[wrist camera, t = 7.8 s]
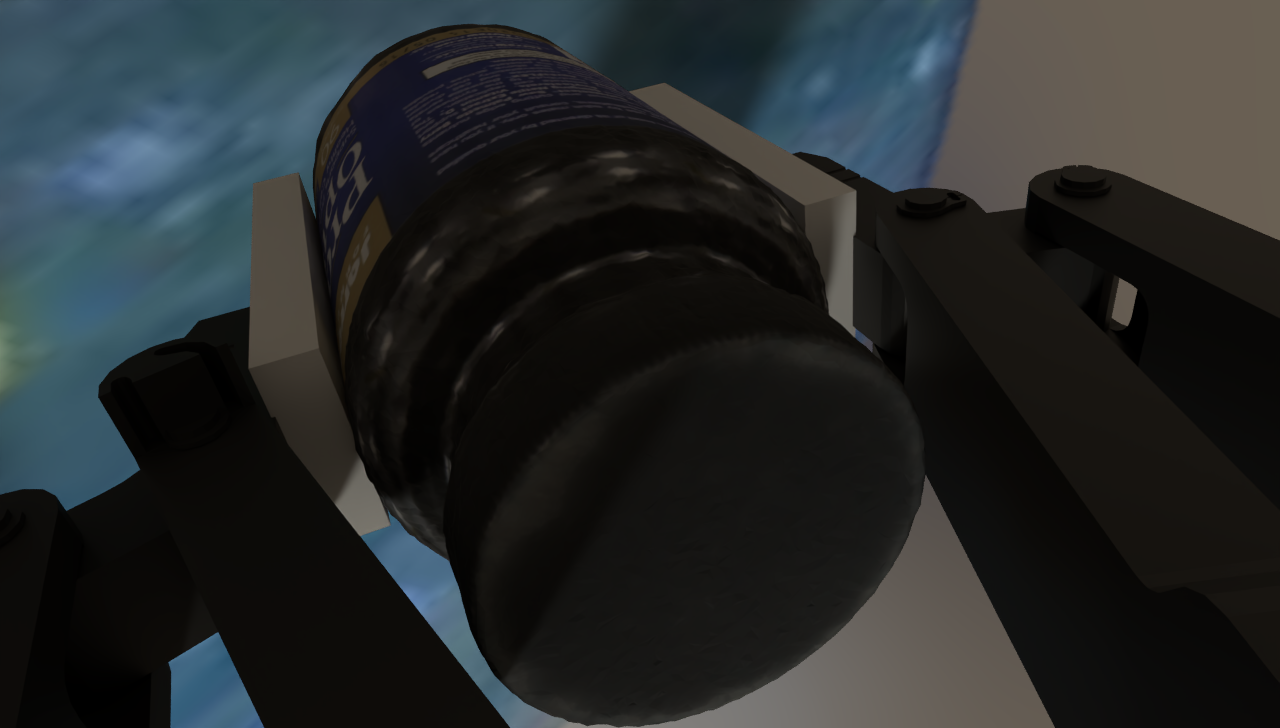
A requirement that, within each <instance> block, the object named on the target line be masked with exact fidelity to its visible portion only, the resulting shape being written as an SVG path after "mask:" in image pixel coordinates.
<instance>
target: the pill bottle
mask: <svg viewBox="0 0 1280 728" xmlns="http://www.w3.org/2000/svg"><path fill="white" fill-rule="evenodd" d="M313 193H314V202H315V212H316V221H317V226H318V231H319V236H320V242H321V248H322V255H323V262H324V269H325V275H326V279H327V286H328V291H329V297H330V303H331V310H332V317H333V323H334V328H335V333H336V340H337V346H338V351H339V357H340V364H341V371H342V375H343V380H344V387H345V392H346V397H345V402H346V405H347V408H348V415H349V421H350V424H351V427H352V432H353V437H354V441H355V450H356V452H357V453H358V455H359V457H360V459H361V461H362V463H363V464H364V468H365V472H366V475H367V477H368V479H369V481H370V482H371V483H373V485H374V487H375V490H376V492H377V494H378V495H379V497H380V500H381V502H382V504H383V505H384V506H385V507H386V508H387V509H388V511H389V512H390V514H391V515H392V516H393V517H395V518H396V519H397V520H398V521H399V522H400V523H401V525H402V526H403V528H404V529H405V530H406V531H407V532H408V533H409V535H412V536H414V537H415V538H416V539H417V540H418V541H419V542H421V543H422V544H424V545H425V546H427V547H429V548H430V549H431V550H433V551H434V552H436V553H437V554H439V555H440V556H442V557H444V558H445V559H447V560H448V561H450V565H451V568H452V570H453V573H454V576H455V579H456V581H457V584H458V586H459V589H460V593H461V597H462V602H463V605H464V609H465V613H466V616H467V620H468V623H469V627H470V630H471V632H472V635H473V637H474V639H475V641H476V644H477V646H478V648H479V650H480V652H481V654H482V656H483V657H484V658H485V660H486V662H487V664H488V665H489V667H490V669H491V671H492V672H493V674H494V675H495V676H496V677H497V678H498V679H499V680H500V681H501V682H502V683H503V684H504V685H505V686H506V687H507V688H508V689H509V690H510V691H511V692H512V693H513V694H515V695H517V696H518V697H519V698H520V699H521V700H522V701H523V702H524V703H526V704H528V705H530V706H532V707H534V708H536V709H538V710H540V711H543V712H545V713H547V714H549V715H551V716H554V717H559V718H563V719H565V720H567V721H568V722H573V723H581V724H584V725H586V726H589V725H596V724H608V725H612V726H616V727H623V726H637V727H640V726H644V725H652V724H660V723H665V722H669V721H677V720H680V719H683V718H686V717H689V716H692V715H696V714H700V713H703V712H705V711H708V710H714V709H717V708H719V707H721V706H723V705H725V704H727V703H729V702H731V701H734V700H737V699H740V698H742V697H743V696H745V695H746V694H749V693H751V692H753V691H755V690H757V689H759V688H761V687H762V686H764V685H766V684H768V683H769V682H771V681H774V680H776V679H778V678H779V677H780V676H782V675H783V674H785V673H786V672H787V671H789V670H791V669H792V668H794V667H795V666H797V665H798V664H800V663H801V662H802V661H803V660H805V659H806V658H807V657H808V656H810V655H811V654H812V653H814V652H815V651H816V650H818V649H819V648H820V647H822V646H823V645H824V644H825V643H826V642H827V641H829V640H830V639H831V638H832V637H834V636H835V635H836V634H837V633H838V632H839V631H840V630H841V629H842V628H843V627H844V626H845V625H846V624H847V623H848V622H849V621H850V620H851V619H852V618H853V616H854V615H855V614H856V613H857V611H858V610H859V609H860V608H861V607H862V606H863V605H864V604H865V603H866V602H867V600H868V599H869V598H870V597H871V596H872V595H873V594H874V593H875V591H876V590H877V588H878V586H879V585H880V583H881V582H882V580H883V579H884V578H885V576H886V575H887V573H888V572H889V571H890V569H891V568H892V566H893V564H894V562H895V561H896V559H897V557H898V556H899V554H900V552H901V550H902V548H903V546H904V544H905V542H906V540H907V538H908V536H909V532H910V529H911V526H912V523H913V520H914V517H915V515H916V513H917V511H918V509H919V507H920V505H921V497H922V493H923V486H924V481H925V480H924V479H925V475H926V472H925V469H926V463H925V456H926V451H925V447H924V445H925V440H924V436H923V432H922V428H921V423H920V420H919V417H918V414H917V411H916V409H915V406H914V403H913V401H912V399H911V397H910V395H909V394H908V392H907V391H906V389H905V388H904V386H903V384H902V383H901V381H900V380H899V379H898V378H897V377H896V376H895V375H894V373H893V372H892V371H891V370H890V369H889V368H888V367H887V366H886V365H885V364H884V363H883V362H882V360H880V359H879V358H878V357H876V356H875V355H874V354H873V353H872V352H871V351H870V350H869V349H868V348H867V347H866V346H864V345H863V344H862V343H860V342H859V341H858V340H857V339H856V338H855V337H854V336H853V335H852V334H851V333H850V332H849V331H848V330H847V329H846V328H845V327H844V326H842V325H841V324H840V323H839V322H838V321H836V320H835V319H834V318H832V317H831V316H830V315H829V308H828V301H827V298H826V291H825V282H824V279H823V276H822V274H821V270H820V265H819V263H818V260H817V259H816V258H815V255H814V252H813V248H812V244H811V242H810V241H809V240H808V239H807V237H806V235H805V233H804V232H803V230H802V229H801V227H800V226H799V225H798V224H797V222H796V220H795V218H794V216H793V215H792V213H791V211H790V210H789V209H788V208H787V207H786V206H785V204H784V203H783V202H782V200H781V199H780V198H779V197H778V196H777V195H776V194H775V193H774V192H773V191H772V189H771V188H770V187H768V186H766V185H765V184H764V183H762V182H761V181H760V180H759V179H758V178H757V177H756V176H755V175H754V174H753V173H752V171H751V170H749V169H748V168H746V167H745V166H743V165H742V164H740V163H738V162H737V161H735V160H733V159H731V158H729V157H727V156H725V155H724V154H722V153H721V152H719V151H717V150H716V149H714V148H713V147H711V146H710V145H708V144H707V143H705V142H704V141H702V140H701V139H699V138H697V137H696V136H695V135H693V134H692V133H690V132H689V131H688V130H686V129H684V128H682V127H681V126H679V125H678V124H676V123H675V122H673V121H672V120H670V119H669V118H667V117H666V116H664V115H663V114H661V113H660V112H658V111H657V110H656V109H654V108H653V107H651V106H650V105H648V104H647V103H645V102H644V101H642V100H641V99H639V98H637V97H636V96H634V95H633V94H631V93H630V92H628V91H627V90H625V89H624V88H622V87H621V86H619V85H618V84H616V83H615V82H614V81H612V80H611V79H609V78H607V77H606V76H604V75H603V74H601V73H599V72H598V71H596V70H595V69H593V68H591V67H590V66H588V65H587V64H585V63H584V62H582V61H581V60H579V59H578V58H576V57H574V56H573V55H571V54H570V53H568V52H566V51H565V50H563V49H562V48H560V47H559V46H557V45H555V44H554V43H552V42H551V41H549V40H548V39H546V38H544V37H541V36H539V35H535V34H532V33H529V32H526V31H523V30H520V29H517V28H514V27H509V26H502V25H497V24H495V25H478V24H461V25H451V26H442V27H438V28H434V29H430V30H427V31H425V32H422V33H419V34H416V35H413V36H410V37H408V38H405V39H403V40H401V41H399V42H397V43H396V44H394V45H392V46H391V47H389V48H387V49H386V50H384V51H382V52H380V53H379V54H377V55H375V56H374V57H373V58H372V59H371V60H370V61H369V62H368V63H367V64H366V65H365V66H364V67H363V69H362V70H361V71H360V72H359V74H358V75H357V76H356V77H355V78H354V80H353V81H352V82H351V83H350V84H349V86H348V87H347V89H346V90H345V92H344V94H343V95H342V97H341V98H340V99H339V101H338V102H337V104H336V105H335V107H334V108H333V109H332V111H331V112H330V113H329V115H328V116H327V118H326V119H325V122H324V124H323V126H322V128H321V131H320V133H319V136H318V138H317V143H316V153H315V163H314V168H313Z"/></svg>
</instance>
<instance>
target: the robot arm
mask: <svg viewBox="0 0 1280 728" xmlns="http://www.w3.org/2000/svg"><path fill="white" fill-rule="evenodd" d="M629 92H630V93H631V94H633V95H634V96H636V97H637V98H639V99H641V100H642V101H644V102H645V103H647V104H648V105H650V106H651V107H653V108H654V109H656V110H657V111H658V112H660V113H661V114H663V115H664V116H666V117H667V118H669V119H670V120H672V121H673V122H675V123H676V124H678V125H679V126H681V127H682V128H684V129H686V130H688V131H689V132H690V133H692V134H693V135H695V136H696V137H697V138H699V139H701V140H702V141H704V142H705V143H707V144H708V145H710V146H711V147H713V148H714V149H716V150H717V151H719V152H721V153H722V154H724V155H725V156H727V157H729V158H731V159H733V160H735V161H737V162H738V163H740V164H742V165H743V166H745V167H746V168H748V169H749V170H751V171H752V173H753V174H754V175H755V176H756V177H757V178H758V179H759V180H760V181H761V182H762V183H764V184H765V185H766V186H768V187H770V188H771V189H772V191H773V192H774V193H775V194H776V195H777V196H778V197H779V198H780V199H781V200H782V202H783V203H784V204H785V206H786V207H787V208H788V209H789V210H790V211H791V213H792V215H793V216H794V218H795V220H796V222H797V224H798V225H799V226H800V227H801V229H802V230H803V232H804V233H805V235H806V237H807V239H808V240H809V241H810V242H811V244H812V248H813V252H814V255H815V258H816V259H817V260H818V263H819V265H820V270H821V274H822V276H823V279H824V282H825V291H826V298H827V301H828V308H829V315H830V316H831V317H832V318H834V319H835V320H836V321H838V322H839V323H840V324H841V325H842V326H844V327H845V328H846V329H847V330H848V331H849V332H850V333H851V334H852V335H853V336H854V337H855V328H856V329H857V330H858V331H860V332H861V333H862V334H863V335H865V336H866V337H867V338H868V339H870V340H871V341H872V342H873V354H874V355H875V356H876V357H878V358H879V359H880V360H882V362H883V363H884V364H885V365H886V366H887V367H888V368H889V369H890V370H891V371H892V372H893V373H894V375H895V376H896V377H897V378H898V379H899V380H900V381H901V383H902V384H903V386H904V388H905V389H906V391H907V392H908V394H909V395H910V397H911V399H912V401H913V403H914V406H915V409H916V411H917V414H918V417H919V420H920V423H921V428H922V432H923V436H924V440H925V445H924V447H925V451H926V456H925V463H926V469H925V472H926V476H927V478H928V480H929V481H930V483H931V485H932V487H933V489H934V491H935V493H936V495H937V497H938V499H939V501H940V503H941V505H942V507H943V509H944V511H945V512H946V515H947V517H948V519H949V521H950V523H951V525H952V527H953V529H954V530H955V532H956V534H957V536H958V538H959V540H960V542H961V544H962V546H963V548H964V550H965V552H966V554H967V556H968V558H969V560H970V562H971V564H972V566H973V568H974V570H975V571H976V573H977V576H978V577H979V579H980V581H981V583H982V585H983V587H984V589H985V591H986V593H987V595H988V597H989V599H990V601H991V603H992V605H993V607H994V609H995V611H996V613H997V615H998V617H999V619H1000V621H1001V622H1002V624H1003V626H1004V628H1005V630H1006V632H1007V634H1008V636H1009V638H1010V640H1011V642H1012V644H1013V646H1014V648H1015V650H1016V652H1017V654H1018V656H1019V658H1020V660H1021V661H1022V663H1023V666H1024V668H1025V669H1026V672H1027V673H1028V675H1029V677H1030V679H1031V681H1032V683H1033V685H1034V687H1035V689H1036V691H1037V693H1038V695H1039V697H1040V699H1041V701H1042V703H1043V705H1044V707H1045V709H1046V711H1047V713H1048V715H1049V717H1050V718H1051V720H1052V722H1053V724H1054V726H1055V728H1280V240H1277V239H1275V238H1272V237H1270V236H1268V235H1265V234H1263V233H1260V232H1258V231H1255V230H1253V229H1251V228H1248V227H1246V226H1244V225H1242V224H1239V223H1237V222H1234V221H1232V220H1229V219H1227V218H1225V217H1223V216H1220V215H1218V214H1215V213H1213V212H1211V211H1208V210H1206V209H1204V208H1201V207H1199V206H1197V205H1194V204H1192V203H1189V202H1187V201H1185V200H1182V199H1180V198H1177V197H1175V196H1173V195H1170V194H1168V193H1165V192H1163V191H1161V190H1158V189H1156V188H1154V187H1151V186H1149V185H1147V184H1144V183H1142V182H1140V181H1137V180H1135V179H1132V178H1130V177H1128V176H1125V175H1123V174H1119V173H1116V172H1113V171H1109V170H1104V169H1097V168H1093V167H1092V166H1088V165H1078V167H1076V165H1073V166H1064V167H1063V168H1061V169H1055V170H1050V171H1046V172H1044V173H1041V174H1039V175H1037V176H1035V177H1034V178H1033V179H1032V180H1031V181H1030V182H1029V187H1028V195H1027V203H1026V208H1023V209H1015V210H1007V211H999V212H992V213H986V212H985V211H984V210H982V208H981V207H980V206H979V205H978V204H977V203H976V202H975V201H974V200H973V199H971V198H969V197H967V196H966V195H964V194H962V193H960V192H958V191H952V190H948V189H938V188H917V189H908V190H904V191H899V192H895V193H893V192H891V191H889V190H887V189H885V188H883V187H881V186H880V185H878V184H876V183H874V182H872V181H870V180H868V179H866V178H865V177H862V178H861V177H860V175H859V174H857V173H855V172H853V171H851V170H850V169H847V170H846V169H845V167H844V166H842V165H840V164H838V163H836V162H835V161H833V160H831V159H829V158H827V157H822V156H818V155H813V154H808V153H803V152H798V153H794V154H790V153H789V152H787V151H785V150H783V149H782V148H780V147H778V146H776V145H774V144H773V143H771V142H769V141H767V140H766V139H764V138H762V137H760V136H758V135H757V134H755V133H753V132H751V131H750V130H748V129H746V128H744V127H742V126H741V125H739V124H737V123H735V122H734V121H732V120H730V119H728V118H726V117H725V116H723V115H721V114H719V113H718V112H716V111H714V110H712V109H710V108H709V107H707V106H705V105H703V104H702V103H700V102H698V101H696V100H694V99H693V98H691V97H689V96H687V95H686V94H684V93H682V92H680V91H678V90H677V89H675V88H673V87H671V86H670V85H668V84H666V83H662V84H657V85H653V86H649V87H645V88H641V89H637V90H633V91H629ZM1119 278H1121V279H1123V280H1124V281H1126V282H1128V283H1130V284H1132V285H1133V286H1134V287H1135V288H1137V289H1138V290H1137V295H1136V299H1135V304H1134V309H1133V313H1132V318H1131V320H1130V323H1129V325H1128V326H1125V325H1122V324H1120V323H1119V322H1117V321H1115V320H1114V319H1112V312H1113V308H1114V302H1115V298H1116V293H1117V288H1118V283H1119ZM345 397H346V392H345V387H344V380H343V375H342V371H341V364H340V357H339V351H338V346H337V340H336V333H335V328H334V323H333V317H332V310H331V303H330V297H329V291H328V286H327V279H326V275H325V269H324V262H323V255H322V248H321V242H320V236H319V231H318V226H317V221H316V219H315V216H314V213H313V210H312V208H311V205H310V202H309V200H308V197H307V194H306V192H305V189H304V186H303V183H302V181H301V178H300V175H299V173H294V174H290V175H286V176H282V177H278V178H274V179H270V180H266V181H262V182H258V183H253V214H252V252H251V291H250V307H247V308H243V309H240V310H236V311H233V312H229V313H225V314H222V315H218V316H215V317H211V318H207V319H204V320H200V321H198V322H197V324H196V325H195V326H194V327H193V328H192V329H191V331H190V332H189V333H188V334H187V335H186V336H185V337H184V338H180V339H175V340H172V341H168V342H165V343H162V344H159V345H156V346H153V347H150V348H148V349H146V350H144V351H142V352H140V353H138V354H136V355H134V356H132V357H130V358H128V359H127V360H125V361H124V362H123V363H121V364H120V365H119V366H117V367H116V368H114V369H113V370H112V371H110V372H109V373H108V375H107V376H106V377H105V379H104V380H103V381H102V382H101V384H100V385H99V394H98V398H99V399H100V401H101V403H102V404H103V406H104V408H105V409H106V411H107V413H108V414H109V416H110V418H111V419H112V421H113V423H114V424H115V426H116V428H117V429H118V431H119V433H120V434H121V436H122V438H123V439H124V441H125V443H126V444H127V446H128V448H129V449H130V451H131V453H132V454H133V456H134V458H135V460H136V462H137V464H138V466H139V468H140V470H139V471H138V472H136V473H135V474H134V475H132V476H131V477H129V478H128V479H127V480H125V481H124V482H122V483H120V484H118V485H117V486H115V487H113V488H111V489H110V490H108V491H106V492H104V493H102V494H100V495H98V496H96V497H94V498H92V499H90V500H88V501H86V502H84V503H82V504H80V505H78V506H76V507H74V508H72V509H70V510H68V511H66V510H65V509H64V507H63V506H62V504H61V503H60V501H59V500H58V499H57V497H56V496H55V495H53V494H51V493H49V492H47V491H45V490H43V489H22V490H18V491H14V492H9V493H5V494H1V495H0V728H170V717H171V670H170V666H169V663H168V662H169V661H171V660H172V659H174V658H176V657H177V656H179V655H181V654H182V653H184V652H186V651H187V650H189V649H191V648H192V647H194V646H196V645H197V644H199V643H201V642H202V641H204V640H205V639H207V638H209V637H210V636H212V635H214V634H215V633H217V632H219V634H220V636H221V639H222V641H223V643H224V645H225V647H226V649H227V651H228V653H229V655H230V657H231V659H232V661H233V664H234V666H235V668H236V670H237V672H238V674H239V676H240V678H241V680H242V682H243V684H244V686H245V689H246V691H247V693H248V695H249V697H250V699H251V701H252V703H253V705H254V707H255V709H256V711H257V714H258V716H259V718H260V720H261V722H262V724H263V726H264V728H510V727H509V726H508V724H507V723H506V722H505V720H504V719H503V718H502V717H501V715H500V714H499V713H498V711H497V710H496V709H495V708H494V706H493V705H492V704H491V703H490V701H489V700H488V699H487V697H486V696H485V695H484V694H483V692H482V691H481V690H480V689H479V687H478V686H477V685H476V683H475V682H474V681H473V680H472V678H471V677H470V676H469V675H468V673H467V672H466V671H465V669H464V668H463V667H462V666H461V664H460V663H459V662H458V660H457V659H456V658H455V657H454V655H453V654H452V653H451V652H450V650H449V649H448V648H447V646H446V645H445V644H444V643H443V641H442V640H441V639H440V638H439V636H438V635H437V634H436V632H435V631H434V630H433V629H432V627H431V626H430V625H429V624H428V622H427V621H426V620H425V618H424V617H423V616H422V615H421V613H420V612H419V611H418V609H417V608H416V607H415V606H414V604H413V603H412V602H411V601H410V599H409V598H408V597H407V595H406V594H405V593H404V592H403V590H402V589H401V588H400V587H399V585H398V584H397V583H396V581H395V580H394V579H393V578H392V576H391V575H390V574H389V573H388V571H387V570H386V569H385V567H384V566H383V565H382V564H381V562H380V561H379V560H378V559H377V557H376V556H375V555H374V553H373V552H372V551H371V550H370V548H369V547H368V546H367V544H366V543H365V542H364V541H363V539H362V538H361V537H360V536H361V535H364V534H367V533H370V532H373V531H376V530H379V529H381V528H384V527H387V526H390V520H389V514H388V509H387V508H386V507H385V506H384V505H383V504H382V502H381V500H380V497H379V495H378V494H377V492H376V490H375V487H374V485H373V483H371V482H370V481H369V479H368V477H367V475H366V472H365V468H364V464H363V463H362V461H361V459H360V457H359V455H358V453H357V452H356V450H355V441H354V437H353V432H352V427H351V424H350V421H349V415H348V408H347V405H346V402H345Z"/></svg>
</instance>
